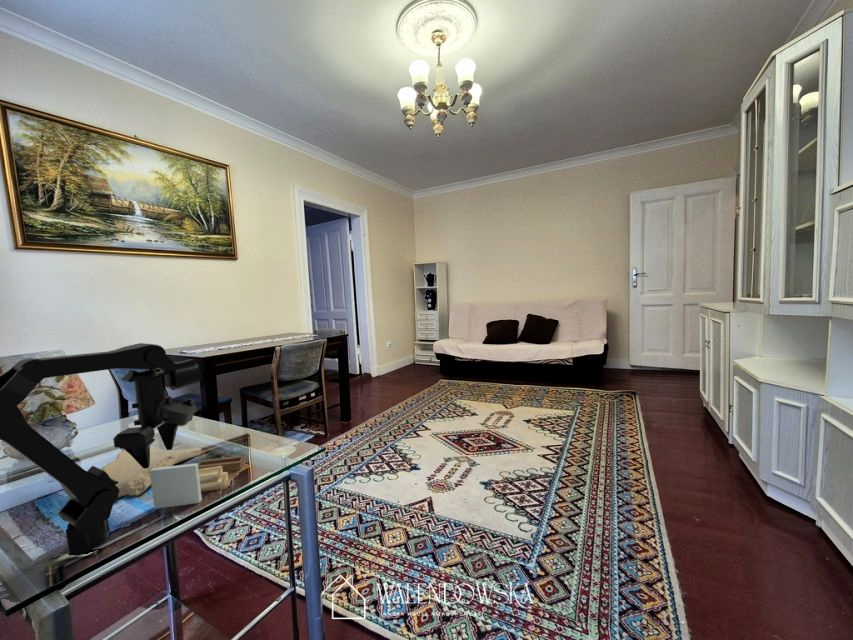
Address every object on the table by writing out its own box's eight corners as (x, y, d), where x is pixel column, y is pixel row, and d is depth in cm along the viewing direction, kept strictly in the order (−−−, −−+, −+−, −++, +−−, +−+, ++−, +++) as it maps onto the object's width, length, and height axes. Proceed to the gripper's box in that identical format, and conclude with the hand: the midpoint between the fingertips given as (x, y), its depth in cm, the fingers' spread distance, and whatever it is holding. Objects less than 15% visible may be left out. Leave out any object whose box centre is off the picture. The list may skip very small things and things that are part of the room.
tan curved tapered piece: (69, 505, 91) (141, 498, 90) (64, 478, 91) (136, 470, 89) (148, 461, 115) (206, 455, 114) (144, 439, 115) (202, 433, 114)
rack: (230, 491, 93) (228, 479, 92) (179, 498, 91) (177, 485, 90) (247, 465, 106) (246, 453, 106) (203, 470, 104) (202, 458, 104)
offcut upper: (217, 481, 93) (216, 473, 92) (188, 485, 91) (187, 478, 91) (222, 472, 97) (222, 465, 97) (194, 476, 95) (194, 469, 95)
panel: (199, 504, 87) (195, 465, 86) (154, 510, 85) (149, 470, 84) (201, 501, 88) (197, 463, 87) (157, 507, 86) (152, 468, 85)
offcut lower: (221, 488, 93) (220, 481, 92) (187, 492, 91) (187, 485, 91) (228, 478, 97) (227, 471, 97) (196, 482, 96) (195, 475, 96)
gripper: (164, 406, 76) (172, 475, 77) (206, 382, 94) (212, 438, 96) (107, 410, 74) (116, 480, 76) (161, 385, 93) (167, 442, 94)
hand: (158, 458), depth 85 cm, fingers open, 9 cm apart
